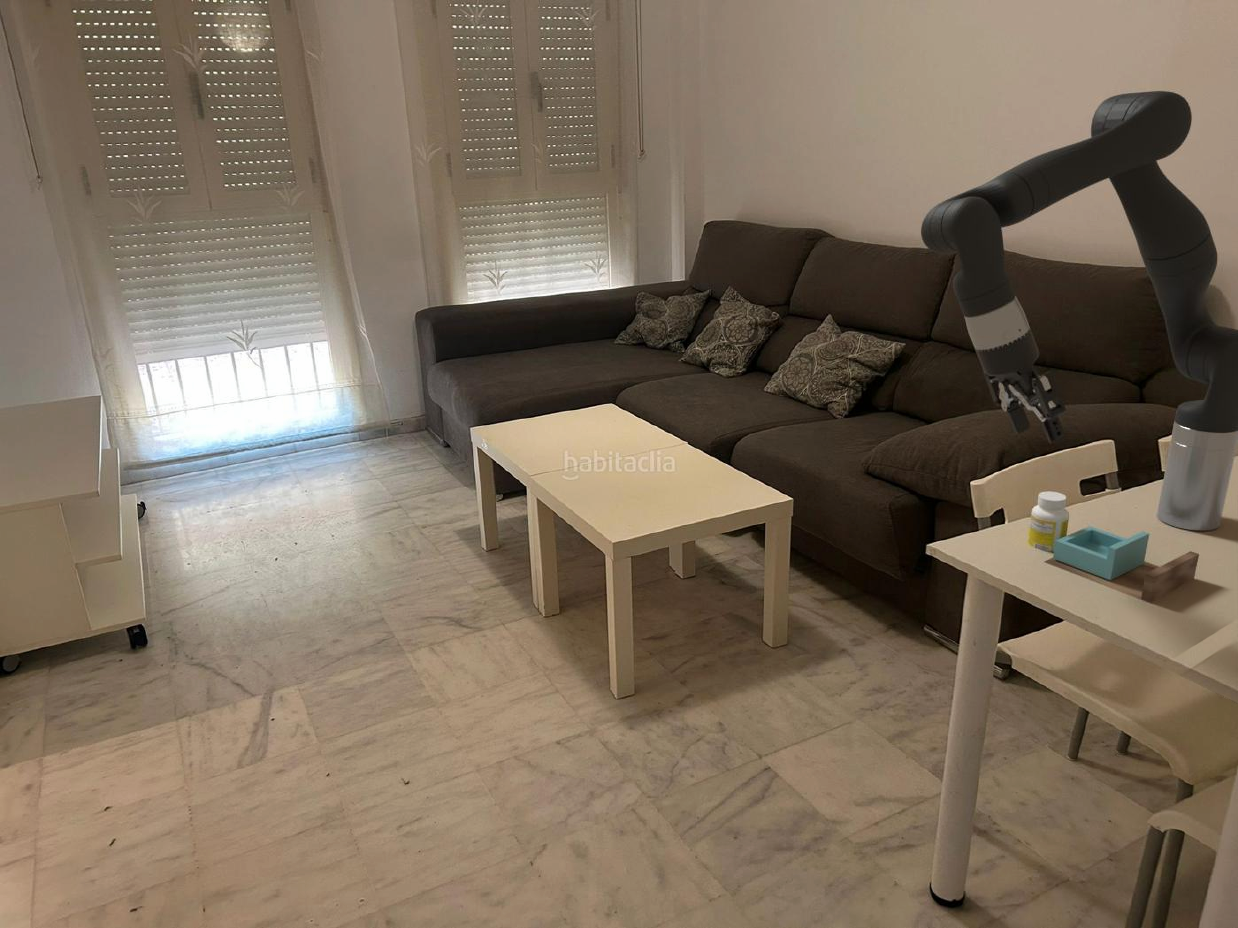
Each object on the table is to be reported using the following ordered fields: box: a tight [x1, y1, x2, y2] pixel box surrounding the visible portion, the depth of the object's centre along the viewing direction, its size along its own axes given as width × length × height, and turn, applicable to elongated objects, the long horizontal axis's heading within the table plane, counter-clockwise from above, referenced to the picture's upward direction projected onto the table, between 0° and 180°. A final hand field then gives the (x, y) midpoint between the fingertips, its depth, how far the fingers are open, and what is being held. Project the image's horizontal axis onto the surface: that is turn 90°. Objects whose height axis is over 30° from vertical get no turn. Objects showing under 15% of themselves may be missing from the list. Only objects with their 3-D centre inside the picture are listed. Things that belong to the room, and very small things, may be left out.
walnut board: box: [1043, 550, 1200, 604], centre depth 133 cm, size 12×16×6 cm
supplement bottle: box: [1027, 491, 1070, 552], centre depth 142 cm, size 5×5×10 cm
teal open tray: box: [1052, 525, 1150, 580], centre depth 135 cm, size 9×9×5 cm
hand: (1039, 435), depth 128 cm, fingers open, 8 cm apart
